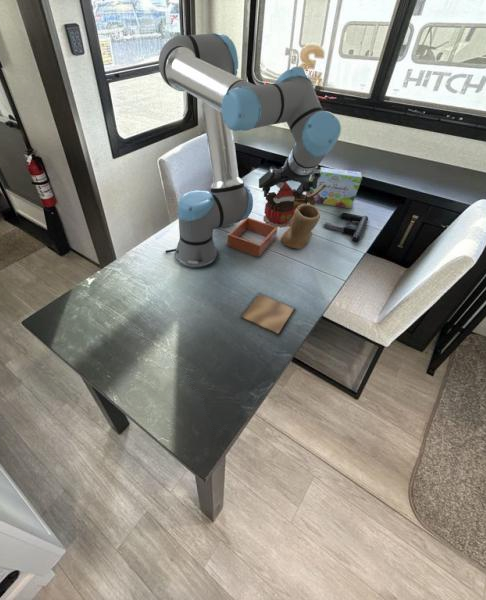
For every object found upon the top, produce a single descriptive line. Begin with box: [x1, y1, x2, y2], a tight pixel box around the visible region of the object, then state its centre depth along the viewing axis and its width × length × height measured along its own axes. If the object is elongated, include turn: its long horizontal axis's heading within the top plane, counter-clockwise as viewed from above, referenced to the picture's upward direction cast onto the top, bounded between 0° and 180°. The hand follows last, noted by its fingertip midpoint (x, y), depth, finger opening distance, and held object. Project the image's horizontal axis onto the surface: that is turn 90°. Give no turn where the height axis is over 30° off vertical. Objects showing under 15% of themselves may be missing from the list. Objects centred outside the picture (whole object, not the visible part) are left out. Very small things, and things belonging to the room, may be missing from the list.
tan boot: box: [280, 203, 321, 250], centre depth 120 cm, size 15×12×15 cm
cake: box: [262, 182, 299, 229], centre depth 99 cm, size 11×9×18 cm
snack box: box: [305, 166, 363, 209], centre depth 143 cm, size 21×6×15 cm, turn 73°
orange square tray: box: [226, 216, 279, 258], centre depth 122 cm, size 14×16×5 cm
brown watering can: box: [294, 184, 326, 210], centre depth 129 cm, size 9×14×18 cm, turn 63°
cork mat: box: [241, 293, 295, 335], centre depth 96 cm, size 12×12×1 cm
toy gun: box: [324, 211, 370, 244], centre depth 131 cm, size 3×20×16 cm
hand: (281, 193), depth 102 cm, fingers closed on cake, 10 cm apart
